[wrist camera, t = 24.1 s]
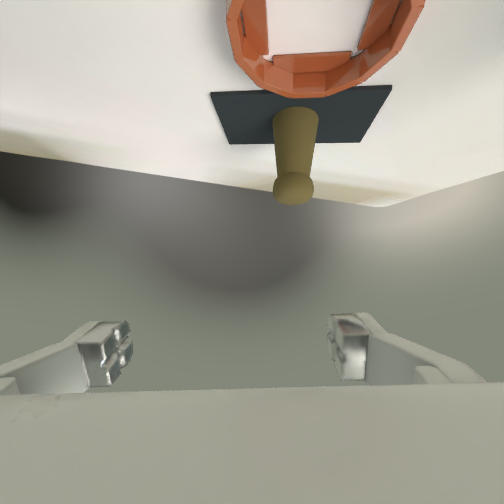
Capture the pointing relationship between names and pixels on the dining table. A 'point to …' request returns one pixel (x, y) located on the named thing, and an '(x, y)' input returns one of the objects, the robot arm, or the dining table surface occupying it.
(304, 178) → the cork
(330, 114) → the mat
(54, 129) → the dining table surface
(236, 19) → the orange ring
